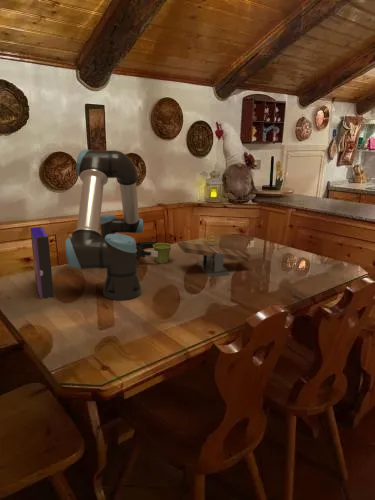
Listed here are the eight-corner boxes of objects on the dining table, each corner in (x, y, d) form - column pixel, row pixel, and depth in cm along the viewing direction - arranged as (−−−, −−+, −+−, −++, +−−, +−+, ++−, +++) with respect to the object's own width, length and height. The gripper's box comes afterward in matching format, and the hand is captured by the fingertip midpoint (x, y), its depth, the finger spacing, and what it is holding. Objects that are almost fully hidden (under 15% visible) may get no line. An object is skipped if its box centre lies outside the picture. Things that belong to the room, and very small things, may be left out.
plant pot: (171, 259, 186) (171, 243, 183) (171, 265, 177) (171, 248, 174) (153, 258, 185) (153, 242, 183) (152, 264, 176) (152, 247, 174)
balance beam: (237, 254, 181) (238, 250, 180) (247, 261, 170) (248, 257, 169) (177, 245, 170) (178, 241, 170) (184, 252, 159) (185, 248, 159)
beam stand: (229, 274, 165) (230, 254, 163) (208, 276, 163) (209, 255, 160) (215, 262, 182) (216, 243, 179) (196, 264, 179) (197, 244, 176)
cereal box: (35, 283, 150) (30, 227, 143) (48, 281, 152) (42, 226, 146) (40, 299, 136) (34, 238, 129) (53, 297, 138) (48, 236, 131)
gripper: (135, 246, 198) (171, 250, 192) (113, 259, 176) (153, 265, 170) (135, 233, 196) (171, 237, 190) (112, 245, 174) (153, 249, 167)
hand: (163, 250), depth 180 cm, fingers open, 13 cm apart
